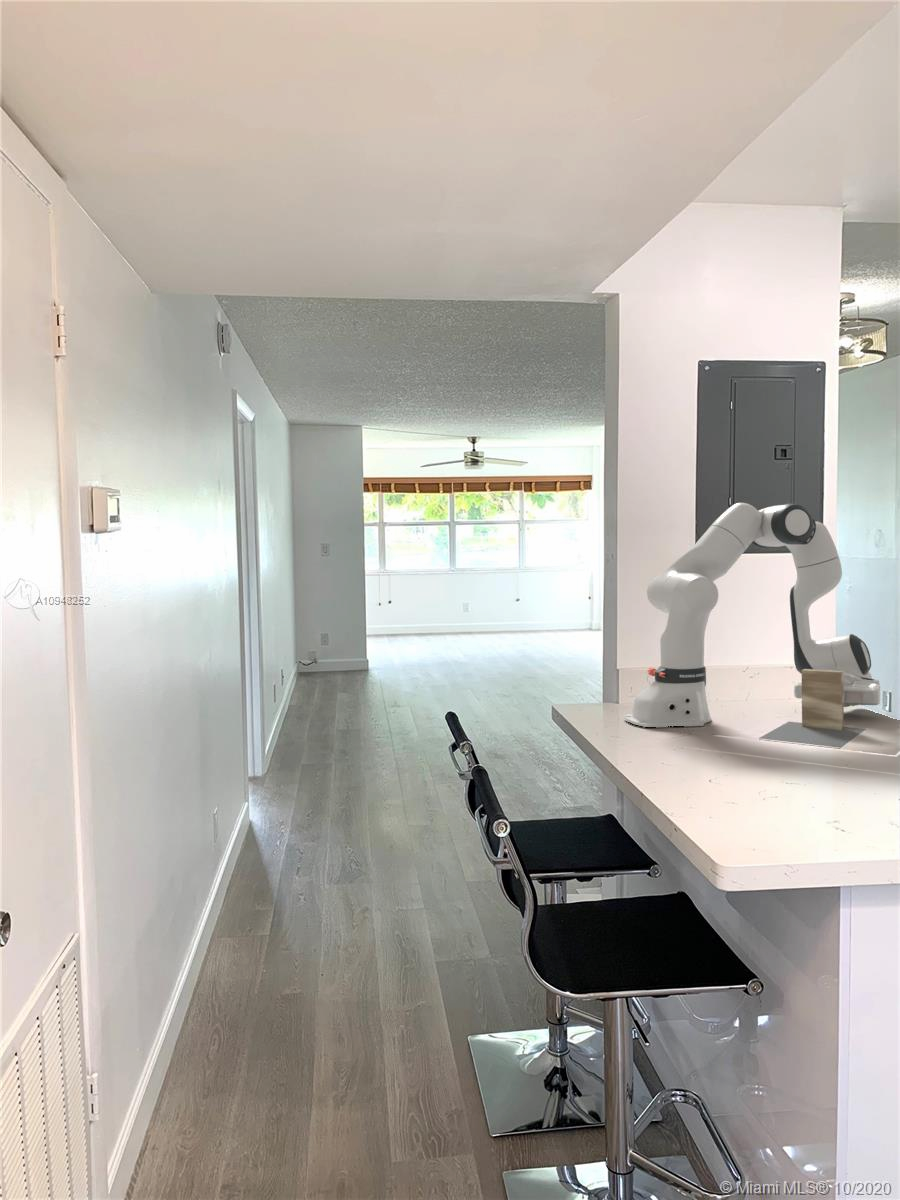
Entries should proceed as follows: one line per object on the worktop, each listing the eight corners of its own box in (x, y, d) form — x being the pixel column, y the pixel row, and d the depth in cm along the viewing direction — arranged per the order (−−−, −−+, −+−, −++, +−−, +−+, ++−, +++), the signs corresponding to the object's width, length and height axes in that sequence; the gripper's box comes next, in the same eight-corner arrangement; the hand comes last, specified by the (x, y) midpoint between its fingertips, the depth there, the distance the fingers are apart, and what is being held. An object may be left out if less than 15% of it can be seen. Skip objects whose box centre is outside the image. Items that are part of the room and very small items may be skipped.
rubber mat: (788, 723, 214) (788, 721, 214) (865, 730, 203) (865, 729, 203) (758, 739, 197) (758, 738, 197) (840, 749, 186) (840, 747, 186)
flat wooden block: (805, 724, 210) (804, 668, 209) (844, 728, 204) (843, 671, 204) (802, 726, 208) (801, 670, 207) (840, 730, 202) (840, 672, 201)
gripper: (802, 674, 227) (786, 681, 217) (885, 680, 214) (872, 688, 204) (802, 697, 228) (786, 706, 217) (885, 704, 215) (872, 713, 204)
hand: (828, 697), depth 210 cm, fingers closed
